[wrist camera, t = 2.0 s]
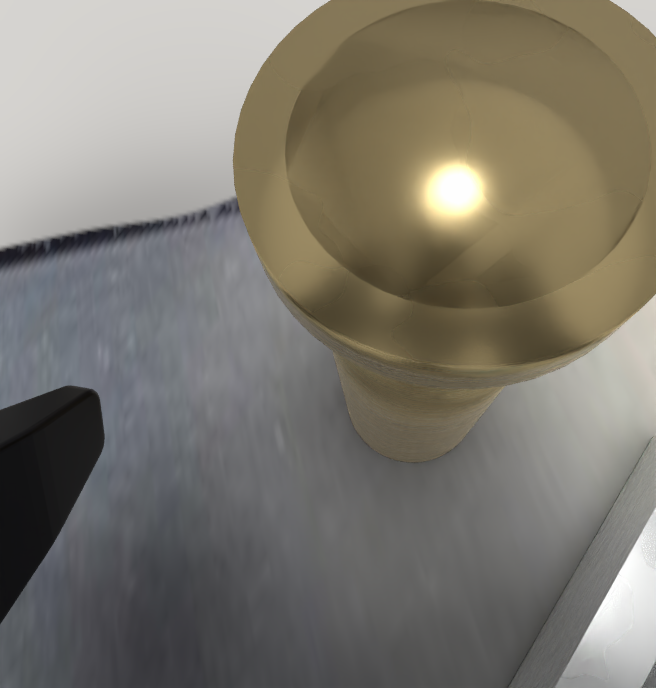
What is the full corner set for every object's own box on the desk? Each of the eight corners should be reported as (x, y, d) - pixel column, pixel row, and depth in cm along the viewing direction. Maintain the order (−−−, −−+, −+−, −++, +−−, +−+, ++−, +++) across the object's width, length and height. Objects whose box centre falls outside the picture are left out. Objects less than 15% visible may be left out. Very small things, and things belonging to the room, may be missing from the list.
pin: (437, 518, 18) (554, 471, 6) (295, 418, 19) (141, 203, 7) (528, 376, 19) (793, 77, 7) (388, 290, 20) (397, -95, 8)
